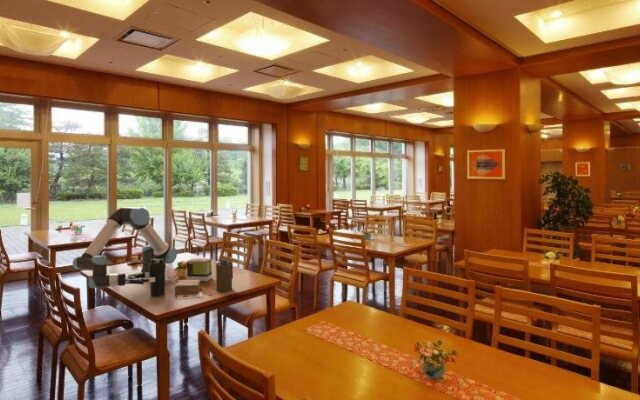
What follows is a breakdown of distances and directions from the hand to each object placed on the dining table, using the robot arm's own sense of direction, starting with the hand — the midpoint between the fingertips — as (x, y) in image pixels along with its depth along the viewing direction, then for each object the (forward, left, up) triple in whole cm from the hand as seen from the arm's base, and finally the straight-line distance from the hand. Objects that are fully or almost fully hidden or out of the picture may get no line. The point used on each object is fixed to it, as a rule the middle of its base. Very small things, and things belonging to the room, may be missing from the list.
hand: (155, 276), depth 249 cm
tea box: (-33, +23, -12) cm, 42 cm away
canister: (-5, +42, -12) cm, 44 cm away
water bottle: (-1, +1, -12) cm, 12 cm away
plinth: (-4, +19, -12) cm, 23 cm away
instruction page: (+4, +21, -12) cm, 24 cm away
